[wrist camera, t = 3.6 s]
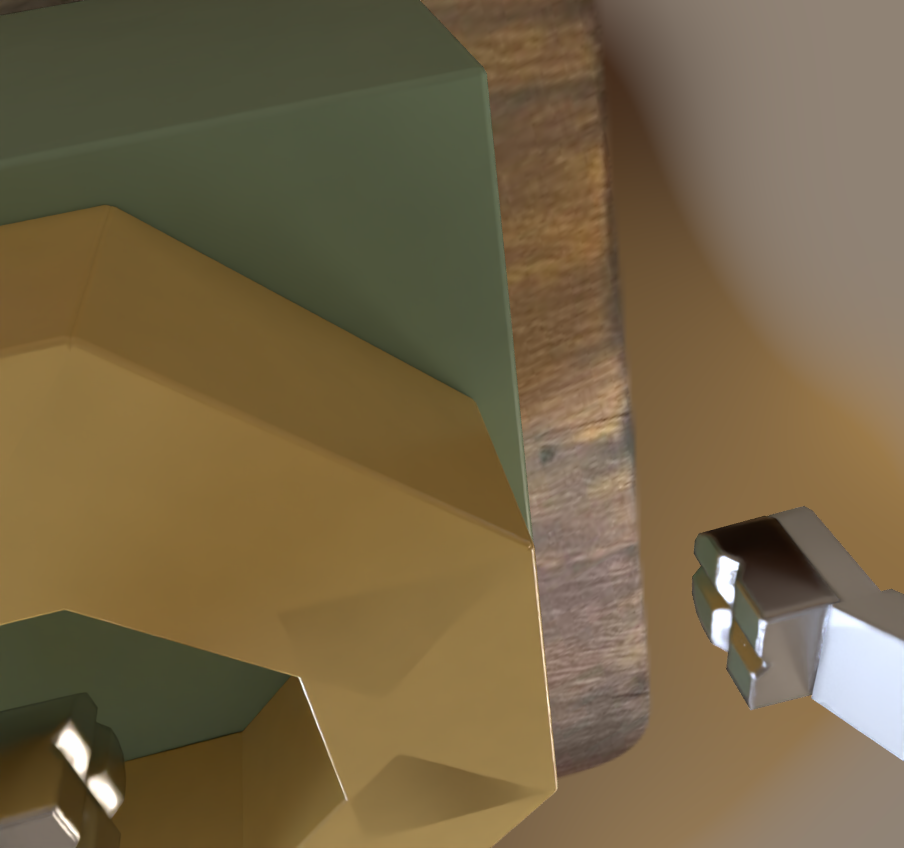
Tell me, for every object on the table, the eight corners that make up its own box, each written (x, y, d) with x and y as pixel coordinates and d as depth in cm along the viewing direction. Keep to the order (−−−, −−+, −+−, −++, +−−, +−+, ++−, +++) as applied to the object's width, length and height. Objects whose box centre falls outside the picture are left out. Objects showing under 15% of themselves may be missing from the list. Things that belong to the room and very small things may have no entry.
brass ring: (439, 135, 9) (507, 243, 7) (523, 751, 16) (570, 901, 14) (-783, 380, 8) (-1174, 602, 6) (-116, 923, 15) (-176, 1114, 13)
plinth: (372, -53, 16) (488, 65, 9) (458, 473, 24) (556, 760, 17) (-365, 79, 15) (-924, 340, 8) (-17, 585, 23) (-133, 945, 15)
